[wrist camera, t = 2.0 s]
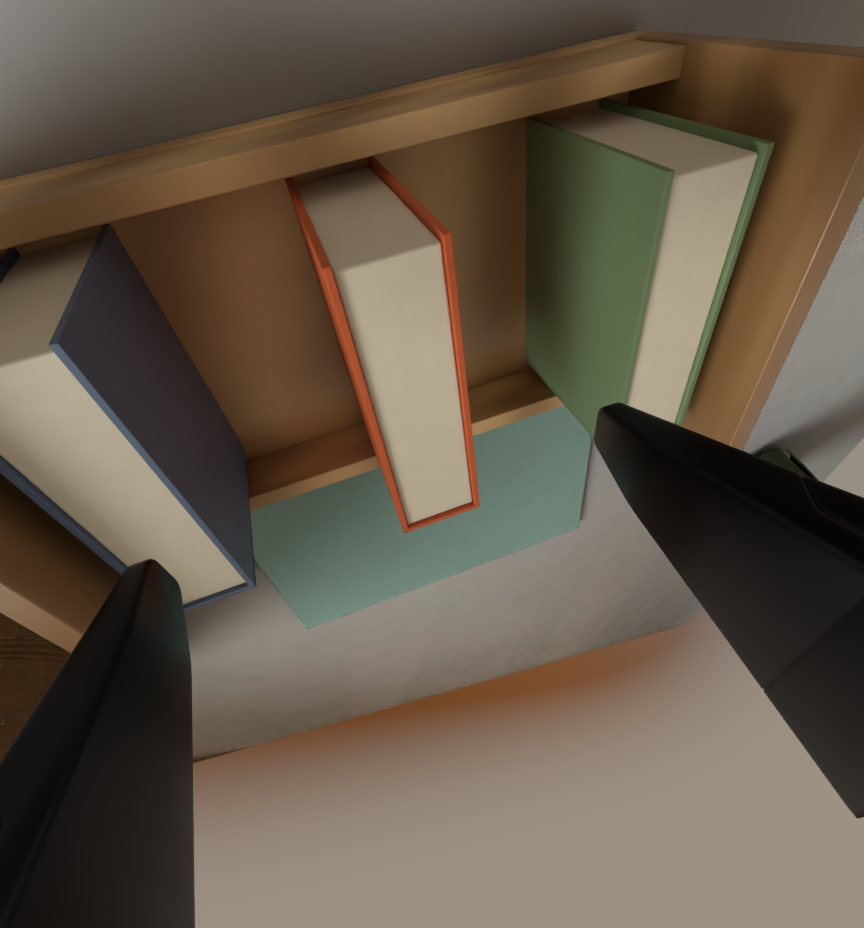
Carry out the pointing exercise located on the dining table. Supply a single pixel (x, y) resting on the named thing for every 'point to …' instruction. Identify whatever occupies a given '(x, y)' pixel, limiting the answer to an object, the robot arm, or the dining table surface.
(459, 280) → the book rack
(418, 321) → the orange book
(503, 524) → the mat
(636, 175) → the green book
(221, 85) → the dining table surface
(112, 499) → the blue book
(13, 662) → the wooden container
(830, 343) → the dining table surface
